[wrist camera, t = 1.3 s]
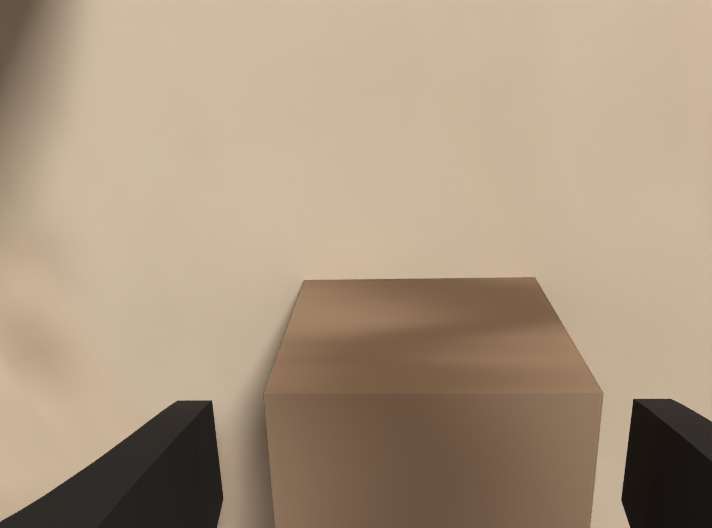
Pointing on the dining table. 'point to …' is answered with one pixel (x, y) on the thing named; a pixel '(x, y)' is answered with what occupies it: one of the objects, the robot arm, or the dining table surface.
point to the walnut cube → (430, 408)
